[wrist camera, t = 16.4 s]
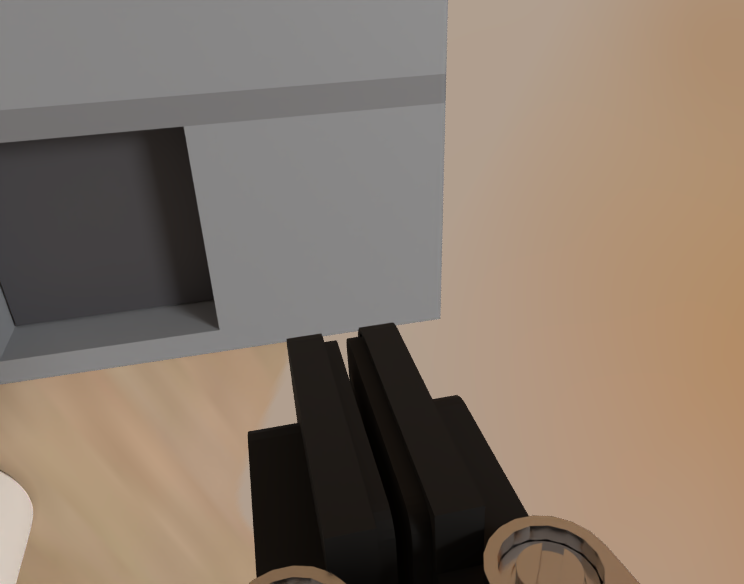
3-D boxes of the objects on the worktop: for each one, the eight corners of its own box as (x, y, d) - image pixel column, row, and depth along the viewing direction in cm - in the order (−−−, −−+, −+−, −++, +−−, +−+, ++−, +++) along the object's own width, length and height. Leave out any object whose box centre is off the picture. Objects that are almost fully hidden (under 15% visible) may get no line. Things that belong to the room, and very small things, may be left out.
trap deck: (423, 290, 30) (455, 344, 26) (-287, 390, 25) (-376, 475, 21) (428, -286, 20) (482, -335, 16) (-758, -307, 15) (-1089, -385, 11)
